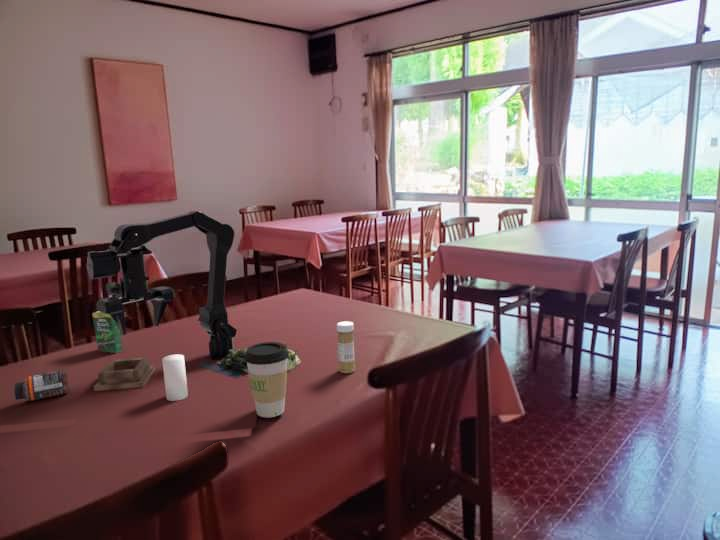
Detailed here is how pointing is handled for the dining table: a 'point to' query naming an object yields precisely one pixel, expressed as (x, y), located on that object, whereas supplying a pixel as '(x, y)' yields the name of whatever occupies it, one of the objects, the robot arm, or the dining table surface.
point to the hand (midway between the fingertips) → (140, 330)
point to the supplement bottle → (42, 386)
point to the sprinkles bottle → (346, 347)
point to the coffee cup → (268, 377)
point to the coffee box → (107, 333)
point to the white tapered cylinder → (175, 377)
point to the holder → (124, 374)
